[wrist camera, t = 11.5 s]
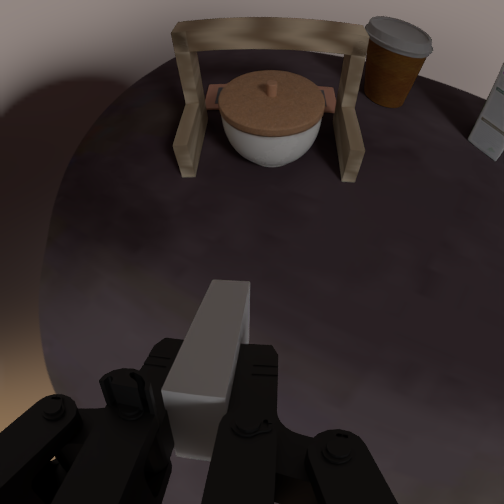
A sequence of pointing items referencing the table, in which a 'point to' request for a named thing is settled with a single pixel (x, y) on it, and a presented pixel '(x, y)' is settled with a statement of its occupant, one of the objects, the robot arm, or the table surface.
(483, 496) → the table surface
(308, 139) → the lidded jar
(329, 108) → the framed chalkboard
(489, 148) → the syrup box
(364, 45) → the tunnel
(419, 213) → the table surface
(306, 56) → the table surface
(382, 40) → the disposable coffee cup
